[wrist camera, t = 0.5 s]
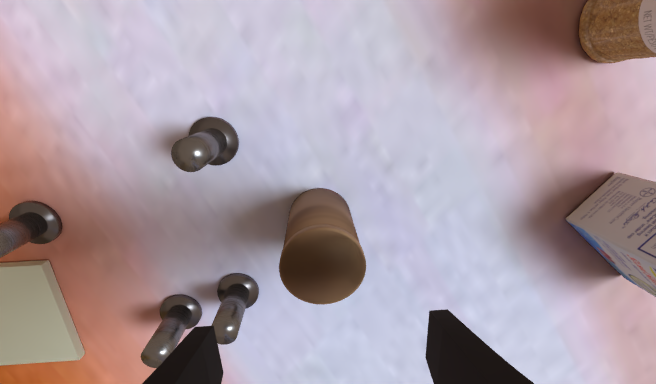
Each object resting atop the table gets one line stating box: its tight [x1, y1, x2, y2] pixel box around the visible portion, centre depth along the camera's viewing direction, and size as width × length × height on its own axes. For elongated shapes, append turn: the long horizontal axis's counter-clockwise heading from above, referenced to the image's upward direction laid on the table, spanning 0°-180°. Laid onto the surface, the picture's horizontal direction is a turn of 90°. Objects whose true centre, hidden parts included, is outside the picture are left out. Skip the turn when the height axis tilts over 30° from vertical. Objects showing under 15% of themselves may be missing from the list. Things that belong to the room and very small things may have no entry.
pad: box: [0, 260, 85, 365], centre depth 21 cm, size 8×8×1 cm
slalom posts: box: [0, 117, 259, 368], centre depth 18 cm, size 15×14×4 cm
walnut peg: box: [279, 188, 366, 304], centre depth 17 cm, size 4×4×6 cm
